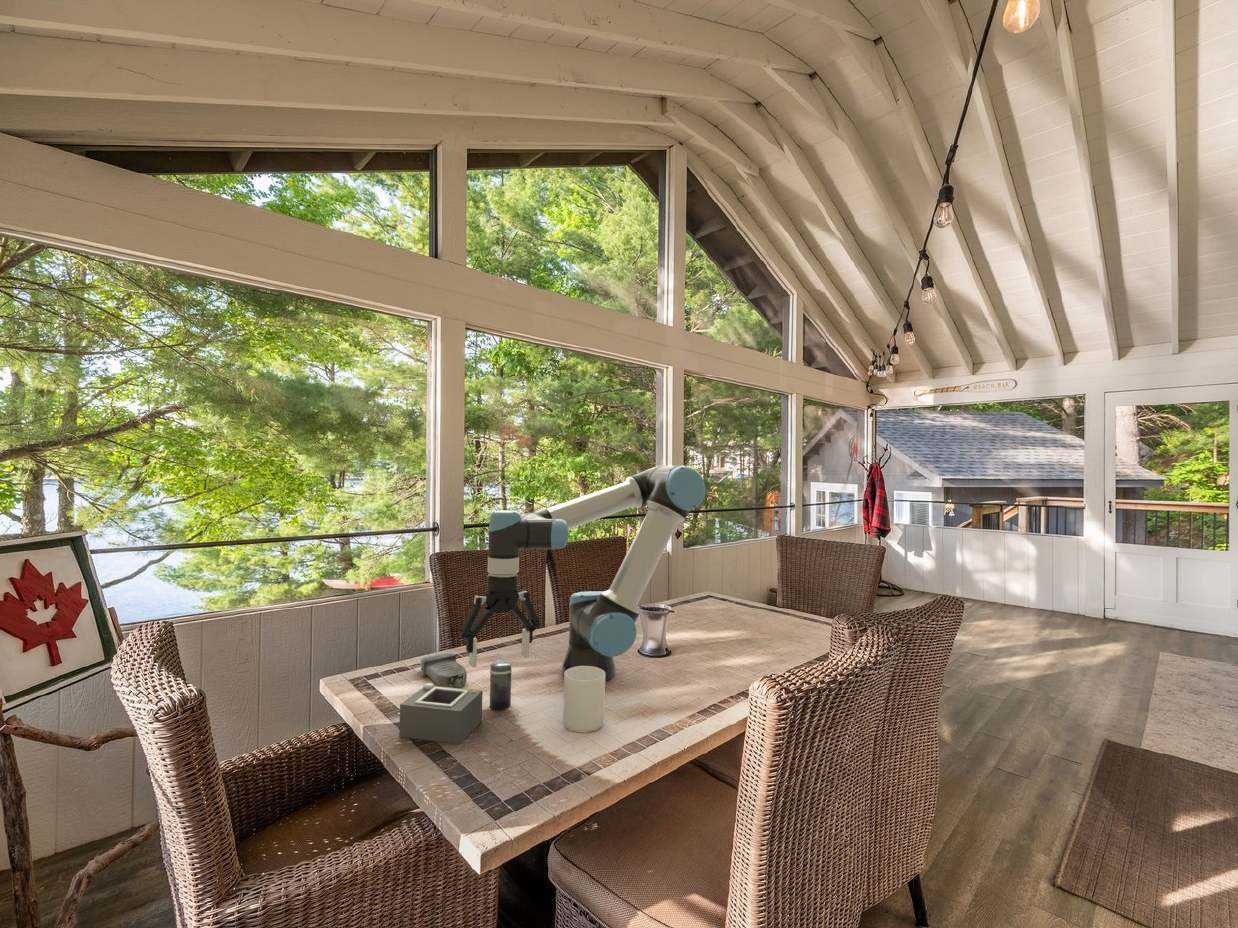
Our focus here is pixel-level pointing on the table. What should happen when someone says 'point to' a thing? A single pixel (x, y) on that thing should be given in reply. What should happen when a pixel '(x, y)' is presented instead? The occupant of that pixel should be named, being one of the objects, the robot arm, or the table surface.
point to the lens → (500, 685)
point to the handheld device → (444, 670)
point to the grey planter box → (441, 714)
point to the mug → (584, 698)
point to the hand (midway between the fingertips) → (499, 660)
